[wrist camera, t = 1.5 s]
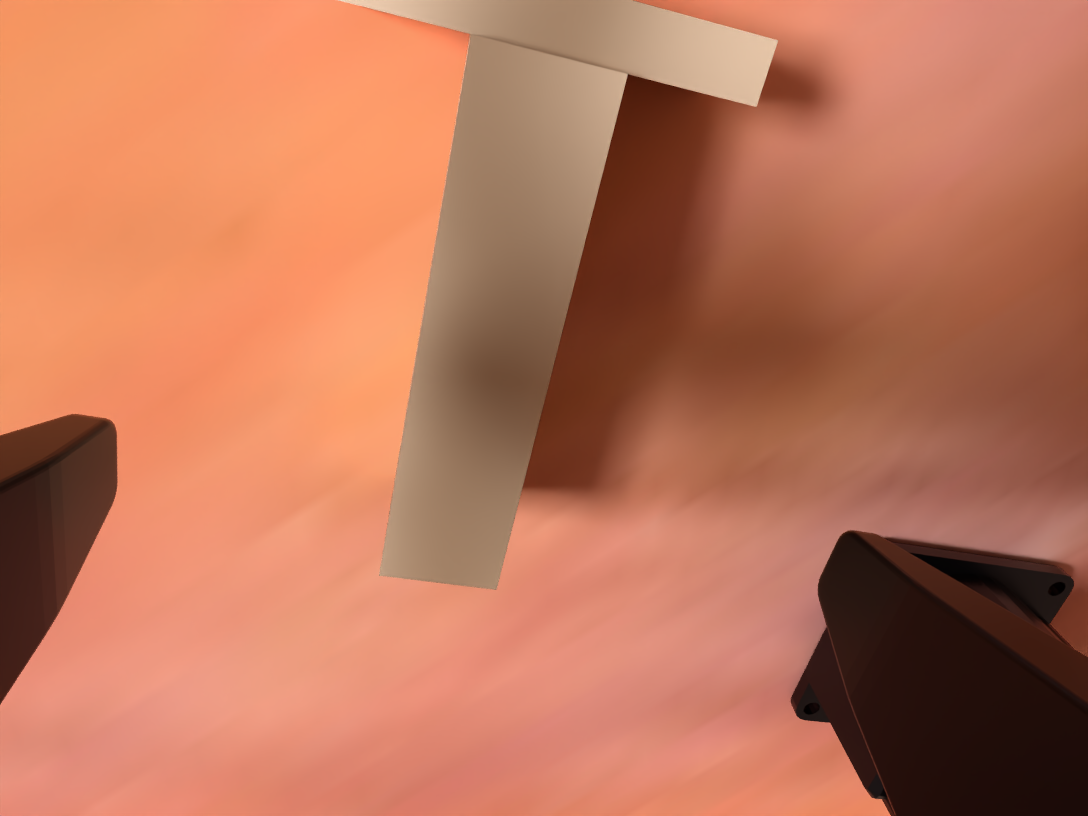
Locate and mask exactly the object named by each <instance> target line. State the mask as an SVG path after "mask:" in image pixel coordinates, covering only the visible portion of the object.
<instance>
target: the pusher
mask: <svg viewBox="0 0 1088 816" xmlns="http://www.w3.org/2000/svg"><path fill="white" fill-rule="evenodd" d="M339 1H343V2H347V3H351V4H355V5H359V6H363V7H367V8H371V9H375V10H378V11H382V12H386V13H390V14H394V15H398V16H402V17H406V18H410V19H414V20H418V21H421V22H425V23H429V24H433V25H437V26H441V27H445V28H449V29H453V30H457V31H461V32H465V33H468V34H470V37H469V43H468V49H467V55H466V61H465V67H464V73H463V79H462V85H461V90H460V96H459V102H458V108H457V114H456V120H455V126H454V132H453V138H452V144H451V149H450V155H449V161H448V167H447V173H446V179H445V185H444V191H443V197H442V203H441V209H440V214H439V220H438V226H437V232H436V238H435V244H434V250H433V256H432V262H431V268H430V274H429V279H428V285H427V291H426V297H425V303H424V309H423V315H422V321H421V327H420V333H419V338H418V344H417V350H416V356H415V362H414V368H413V374H412V380H411V386H410V392H409V398H408V403H407V409H406V415H405V421H404V427H403V433H402V439H401V445H400V451H399V457H398V462H397V468H396V474H395V481H394V487H393V493H392V499H391V505H390V512H389V518H388V524H387V530H386V536H385V543H384V549H383V555H382V561H381V567H380V574H379V576H387V577H395V578H403V579H411V580H420V581H428V582H436V583H444V584H453V585H461V586H469V587H478V588H486V589H494V590H496V589H497V586H498V582H499V578H500V574H501V570H502V566H503V562H504V558H505V554H506V550H507V546H508V542H509V538H510V535H511V531H512V527H513V523H514V519H515V515H516V511H517V507H518V503H519V499H520V495H521V491H522V487H523V484H524V480H525V476H526V472H527V468H528V464H529V460H530V456H531V452H532V448H533V444H534V440H535V437H536V433H537V429H538V425H539V421H540V417H541V413H542V409H543V405H544V401H545V397H546V393H547V389H548V386H549V382H550V378H551V374H552V370H553V366H554V362H555V358H556V354H557V350H558V346H559V342H560V338H561V335H562V331H563V327H564V323H565V319H566V315H567V311H568V307H569V303H570V299H571V295H572V291H573V288H574V284H575V280H576V276H577V272H578V268H579V264H580V260H581V256H582V252H583V248H584V244H585V240H586V237H587V233H588V229H589V225H590V221H591V217H592V213H593V209H594V205H595V201H596V197H597V193H598V189H599V186H600V182H601V178H602V174H603V170H604V166H605V162H606V158H607V154H608V150H609V146H610V142H611V139H612V135H613V131H614V127H615V123H616V119H617V115H618V111H619V107H620V103H621V99H622V95H623V91H624V88H625V84H626V80H627V76H628V74H629V75H633V76H637V77H641V78H645V79H649V80H653V81H656V82H660V83H664V84H668V85H672V86H676V87H680V88H684V89H688V90H692V91H696V92H699V93H703V94H707V95H711V96H715V97H719V98H723V99H727V100H731V101H735V102H739V103H743V104H746V105H750V106H754V107H757V104H758V100H759V97H760V94H761V91H762V88H763V85H764V82H765V79H766V76H767V73H768V70H769V67H770V64H771V61H772V58H773V55H774V52H775V49H776V45H777V42H778V40H775V39H771V38H768V37H764V36H760V35H757V34H753V33H750V32H746V31H742V30H739V29H735V28H731V27H728V26H724V25H720V24H717V23H713V22H709V21H706V20H702V19H699V18H695V17H691V16H688V15H684V14H680V13H677V12H673V11H669V10H666V9H662V8H658V7H655V6H651V5H647V4H644V3H640V2H637V1H633V0H339Z"/></svg>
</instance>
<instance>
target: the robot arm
mask: <svg viewBox="0 0 1088 816" xmlns="http://www.w3.org/2000/svg"><path fill="white" fill-rule="evenodd" d="M116 491H117V432H116V428H115V425H114V424H113V422H112V421H111V420H109V419H106V418H99V417H93V416H86V415H79V414H71V415H67V416H64V417H60V418H57V419H54V420H50V421H47V422H44V423H40V424H37V425H34V426H30V427H27V428H24V429H20V430H17V431H13V432H10V433H7V434H3V435H0V704H1V703H2V701H3V700H4V698H5V696H6V695H7V693H8V692H9V690H10V689H11V687H12V686H13V684H14V683H15V681H16V680H17V678H18V677H19V675H20V673H21V672H22V670H23V669H24V667H25V666H26V664H27V663H28V661H29V660H30V658H31V657H32V655H33V654H34V652H35V650H36V649H37V647H38V646H39V644H40V643H41V641H42V640H43V638H44V637H45V635H46V633H47V632H48V630H49V629H50V627H51V625H52V624H53V622H54V620H55V619H56V617H57V616H58V614H59V612H60V610H61V608H62V606H63V604H64V602H65V600H66V598H67V596H68V594H69V592H70V590H71V588H72V586H73V584H74V582H75V580H76V578H77V576H78V574H79V572H80V570H81V568H82V566H83V564H84V562H85V560H86V558H87V555H88V553H89V551H90V549H91V547H92V545H93V543H94V541H95V539H96V537H97V535H98V533H99V531H100V529H101V527H102V525H103V523H104V521H105V519H106V517H107V515H108V512H109V510H110V508H111V506H112V504H113V502H114V499H115V495H116ZM1073 586H1074V581H1073V579H1072V578H1071V577H1070V576H1069V575H1068V574H1067V573H1066V572H1065V571H1064V570H1062V569H1061V568H1059V567H1057V566H1051V565H1044V564H1037V563H1030V562H1024V561H1017V560H1010V559H1003V558H996V557H989V556H983V555H976V554H969V553H962V552H955V551H948V550H942V549H935V548H928V547H921V546H914V545H907V544H901V543H894V542H890V541H888V540H886V539H885V538H883V537H881V536H879V535H877V534H873V533H867V532H861V531H853V530H850V531H847V532H845V533H843V534H842V535H841V536H840V537H839V539H838V541H837V543H836V545H835V547H834V549H833V551H832V553H831V555H830V557H829V560H828V562H827V564H826V566H825V568H824V570H823V572H822V574H821V576H820V579H819V583H818V597H819V601H820V605H821V608H822V611H823V615H824V618H825V622H826V625H827V627H826V629H825V631H824V633H823V635H822V637H821V639H820V641H819V643H818V645H817V647H816V649H815V651H814V653H813V655H812V657H811V659H810V661H809V663H808V665H807V667H806V669H805V671H804V673H803V675H802V677H801V679H800V681H799V683H798V685H797V687H796V689H795V691H794V693H793V695H792V697H791V704H792V707H793V709H794V711H795V713H796V715H797V716H798V717H799V718H800V719H803V720H808V721H819V722H829V723H831V725H832V727H833V729H834V731H835V733H836V734H837V736H838V738H839V740H840V742H841V744H842V746H843V748H844V750H845V751H846V753H847V755H848V757H849V759H850V761H851V763H852V765H853V767H854V769H855V770H856V772H857V774H858V776H859V778H860V780H861V782H862V784H863V786H864V787H865V789H866V790H867V792H868V793H869V795H870V796H871V797H872V798H875V799H882V800H883V802H884V804H885V806H886V808H887V809H888V811H889V813H890V815H891V816H1088V657H1086V656H1085V655H1083V654H1081V653H1080V652H1078V651H1076V650H1075V649H1074V648H1073V647H1072V646H1071V645H1070V644H1069V643H1068V642H1067V641H1066V640H1065V639H1064V638H1063V637H1062V636H1061V635H1060V634H1059V633H1058V632H1057V631H1056V630H1055V629H1054V628H1053V627H1052V626H1051V625H1050V623H1051V621H1052V620H1053V618H1054V617H1055V615H1056V613H1057V612H1058V610H1059V609H1060V607H1061V606H1062V604H1063V603H1064V601H1065V600H1066V598H1067V597H1068V595H1069V594H1070V592H1071V591H1072V589H1073Z"/></svg>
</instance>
